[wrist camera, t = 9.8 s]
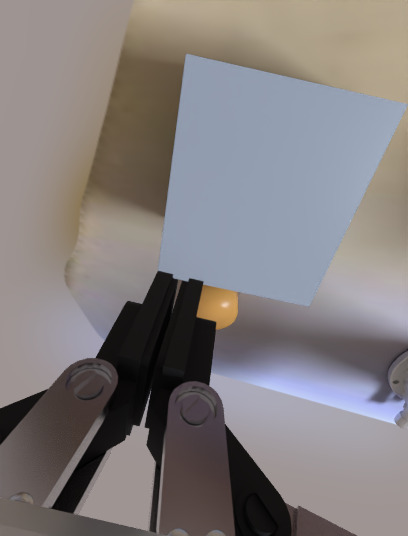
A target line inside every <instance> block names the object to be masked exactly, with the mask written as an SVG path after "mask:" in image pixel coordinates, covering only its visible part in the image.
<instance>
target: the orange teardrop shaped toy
mask: <svg viewBox="0 0 408 536" xmlns="http://www.w3.org/2000/svg"><path fill="white" fill-rule="evenodd" d="M237 314H238V292H236V291H232V290H227V289H222V288H217V287H212V286H208V285H203V288H202V292H201V297H200V302H199V307H198V311H197V316H196V317H199V318H203V319H207V320H212V321H216V330H217V329H223V328H226V327H228V326H229V325H231V324H232V323H233V322H234V321H235V319H236V317H237Z"/></svg>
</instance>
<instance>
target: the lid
mask: <svg viewBox="0 0 408 536" xmlns="http://www.w3.org/2000/svg"><path fill="white" fill-rule="evenodd" d="M407 105H408V104H404V103H400V102H396V101H391V100H387V99H383V98H378V97H374V96H369V95H365V94H361V93H356V92H352V91H348V90H343V89H339V88H334V87H330V86H326V85H321V84H317V83H312V82H308V81H304V80H299V79H295V78H291V77H286V76H282V75H277V74H273V73H269V72H264V71H260V70H256V69H251V68H247V67H242V66H238V65H234V64H229V63H225V62H220V61H216V60H212V59H207V58H203V57H199V56H194V55H190V54H186V57H185V65H184V72H183V80H182V88H181V96H180V103H179V111H178V119H177V126H176V134H175V142H174V150H173V157H172V165H171V173H170V180H169V188H168V196H167V204H166V211H165V219H164V227H163V234H162V242H161V250H160V258H159V265H158V271H162V272H166V273H170V274H173V278H174V279H179V280H184V281H188V280H189V278H191V279H196V280H200V281H204V283H203V285H208V286H212V287H217V288H222V289H227V290H232V291H236V292H241V293H246V294H251V295H255V296H260V297H265V298H270V299H274V300H279V301H284V302H289V303H293V304H298V305H303V306H308V307H309V306H310V304H311V302H312V300H313V298H314V296H315V294H316V291H317V289H318V287H319V285H320V283H321V281H322V279H323V277H324V275H325V273H326V271H327V269H328V267H329V265H330V263H331V261H332V259H333V257H334V255H335V253H336V251H337V249H338V246H339V244H340V242H341V240H342V238H343V236H344V234H345V232H346V230H347V228H348V226H349V224H350V222H351V220H352V218H353V216H354V214H355V212H356V210H357V208H358V206H359V204H360V201H361V199H362V197H363V195H364V193H365V191H366V189H367V187H368V185H369V183H370V181H371V179H372V177H373V175H374V173H375V171H376V169H377V167H378V165H379V163H380V161H381V159H382V156H383V154H384V152H385V150H386V148H387V146H388V144H389V142H390V140H391V138H392V136H393V134H394V132H395V130H396V128H397V126H398V124H399V122H400V120H401V118H402V116H403V114H404V111H405V109H406V107H407Z"/></svg>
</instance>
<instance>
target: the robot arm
mask: <svg viewBox="0 0 408 536" xmlns="http://www.w3.org/2000/svg"><path fill="white" fill-rule="evenodd" d="M177 283H178V279H174V278H173V274H170V273H166V272H162V271H158V272H157V274H156V276H155V278H154V281H153V283H152V285H151V287H150V289H149V291H148V293H147V295H146V297H145V300H144V302H143V304H139V303H135V302H131V301H127V302H126V304H125V305H124V307H123V309H122V311H121V313H120V314H119V316H118V318H117V320H116V322H115V323H114V325H113V327H112V329H111V331H110V333H109V334H108V336H107V338H106V340H105V342H104V343H103V345H102V347H101V349H100V351H99V353H98V354H97V356H96V358H87V359H83V360H80V361H77V362H75V363H73V364H72V365H70V366H69V367H68V368H67V369H66V370H65V371H64V372H63V373H62V374H61V375H60V376H59V378H58V379H57V380H56V381H55V382H54V383H53V384H52V386H51V387H50V388H49V389H47V390H45V391H42V392H40V393H37V394H34V395H32V396H30V397H27V398H25V399H22V400H20V401H17V402H15V403H13V404H10V405H8V406H5V407H3V408H0V536H357V535H355V534H353V533H351V532H349V531H347V530H345V529H343V528H341V527H339V526H337V525H335V524H333V523H332V522H330V521H328V520H326V519H324V518H322V517H320V516H318V515H316V514H314V513H312V512H310V511H308V510H306V509H304V508H302V507H300V506H298V507H297V508H294V507H292V506H290V505H289V504H286V503H285V502H284V500H283V499H282V497H281V495H280V494H279V493H278V491H277V490H276V489H275V488H274V486H273V485H272V484H271V482H270V481H269V480H268V478H267V477H266V476H265V475H264V473H263V472H262V471H261V470H260V468H259V467H258V466H257V464H256V463H255V462H254V460H253V459H252V458H251V457H250V455H249V454H248V453H247V451H246V450H245V449H244V448H243V446H242V445H241V444H240V443H239V441H238V440H237V439H236V437H235V436H234V435H233V433H232V432H231V431H230V430H229V428H228V427H227V426H226V424H225V420H224V408H223V404H222V400H221V399H220V397H219V395H218V393H217V392H216V391H215V390H214V389H213V388H211V387H210V386H209V383H210V375H211V366H212V358H213V349H214V341H215V332H216V321H212V320H207V319H203V318H199V317H196V316H197V311H198V307H199V302H200V297H201V292H202V288H203V283H204V281H200V280H196V279H191V278H189V280H188V282H187V281H182V284H181V287H180V290H179V293H178V296H177V299H176V302H175V305H174V308H173V304H174V299H175V294H176V289H177ZM172 310H173V312H172ZM388 382H389V385H390V387H391V388H392V390H393V392H394V393H395V394H396V395H397V396H399V397H400V398H402V399H404V401H405V403H404V405H403V407H404V410H403V411H401V412H400V413H399V414H398V415H397V416H396V417H395V418H394V420H395V423H396V424H397V425H398V426H399V427H401V428H403V429H407V428H408V351H406V352H404V353H403V354H402V355H400V356H399V357H398V358H397V359H396V360H395V361H394V362H393V363H392V365H391V367H390V368H389V371H388ZM150 391H151V394H150ZM149 394H150V400H149V405H148V411H147V417H146V423H145V428H149V435H148V440H147V447H148V449H149V450H150V452H151V454H152V456H153V458H154V460H155V464H154V473H153V483H152V494H151V503H150V513H149V523H148V531H145V530H141V529H136V528H132V527H128V526H123V525H119V524H115V523H110V522H106V521H102V520H97V519H93V518H89V517H84V516H80V515H78V514H79V512H80V511H81V509H82V507H83V505H84V503H85V501H86V499H87V497H88V495H89V493H90V491H91V490H92V487H93V486H94V484H95V482H96V480H97V478H98V476H99V474H100V472H101V471H102V469H103V467H104V465H105V463H106V461H107V459H108V457H109V455H110V453H111V450H112V448H113V447H114V446H116V445H117V444H119V443H121V442H122V441H124V440H125V438H126V435H130V433H131V430H132V427H133V425H136V426H140V423H141V420H142V417H143V414H144V410H145V407H146V404H147V401H148V398H149Z"/></svg>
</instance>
